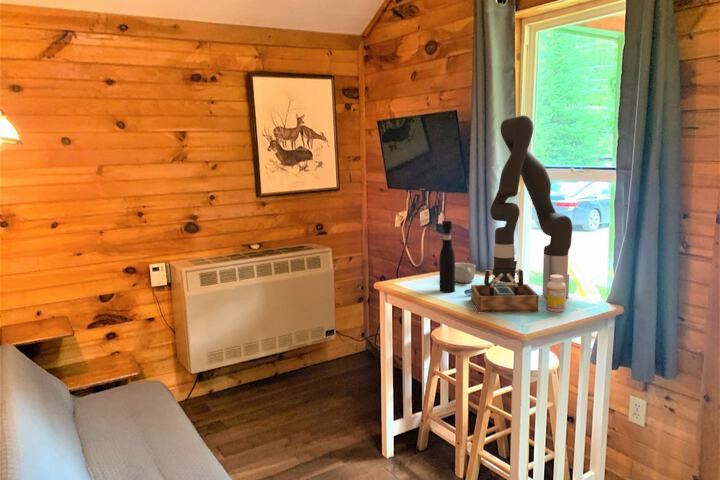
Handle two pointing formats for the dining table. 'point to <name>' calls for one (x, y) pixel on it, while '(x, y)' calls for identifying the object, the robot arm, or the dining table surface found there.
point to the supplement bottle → (556, 294)
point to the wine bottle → (447, 261)
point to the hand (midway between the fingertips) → (503, 296)
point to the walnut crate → (504, 299)
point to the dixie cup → (514, 274)
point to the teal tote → (503, 291)
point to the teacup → (464, 272)
